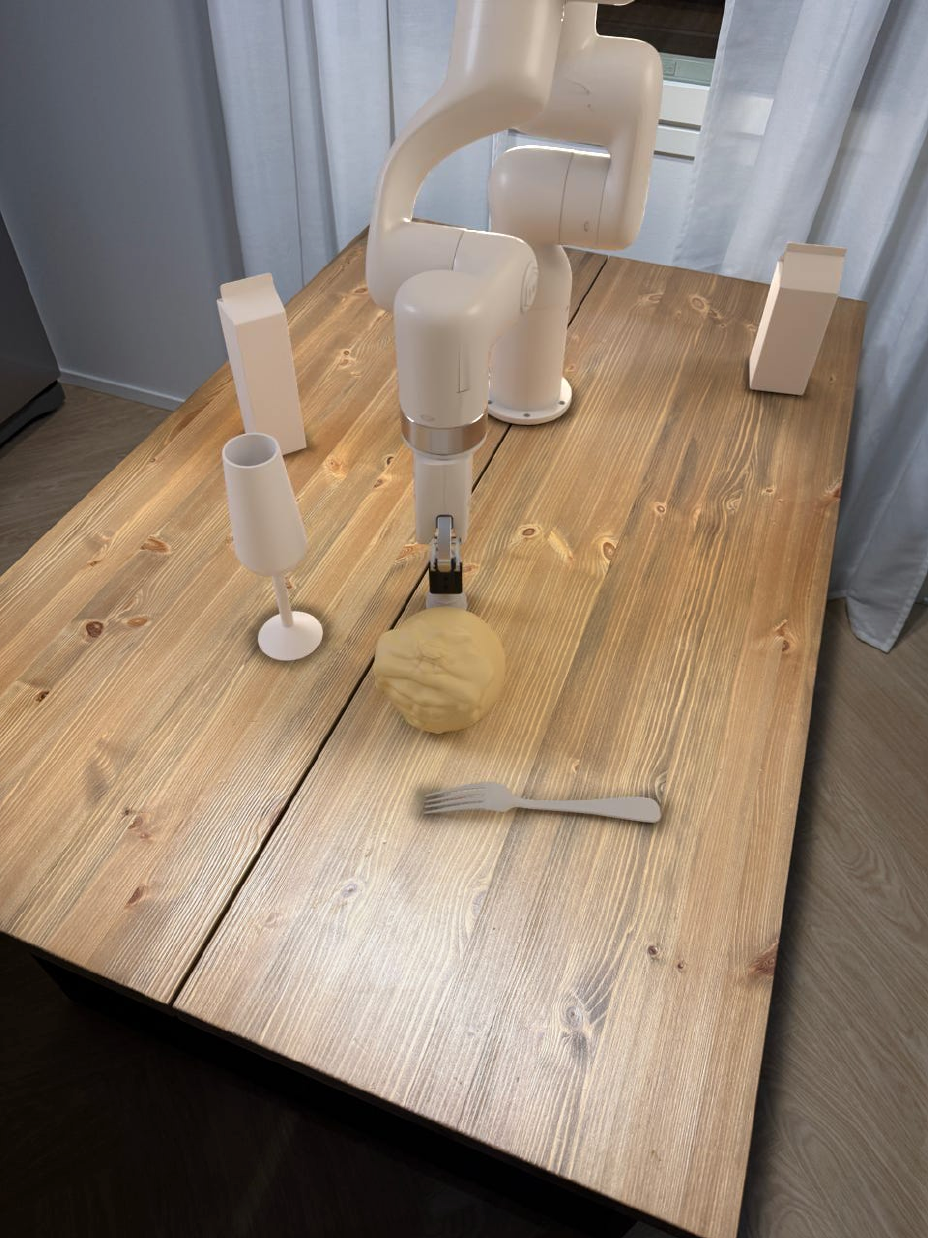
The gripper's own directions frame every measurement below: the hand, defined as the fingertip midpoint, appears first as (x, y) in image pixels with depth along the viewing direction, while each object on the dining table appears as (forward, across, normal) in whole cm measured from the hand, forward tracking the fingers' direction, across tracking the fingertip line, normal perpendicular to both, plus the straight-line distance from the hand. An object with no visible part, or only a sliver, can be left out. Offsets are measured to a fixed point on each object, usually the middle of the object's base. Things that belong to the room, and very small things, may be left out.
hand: (446, 555), depth 90 cm
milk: (+8, -27, -22) cm, 36 cm away
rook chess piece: (+7, +1, 0) cm, 7 cm away
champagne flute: (+7, +5, -16) cm, 18 cm away
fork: (+7, +25, +9) cm, 27 cm away
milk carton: (+9, -42, +45) cm, 62 cm away
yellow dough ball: (+7, +13, 0) cm, 15 cm away
